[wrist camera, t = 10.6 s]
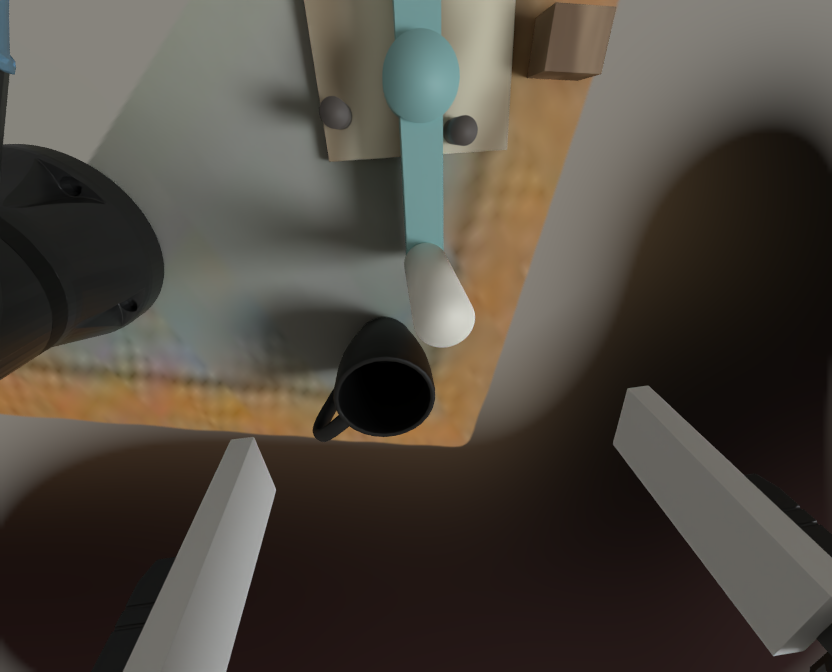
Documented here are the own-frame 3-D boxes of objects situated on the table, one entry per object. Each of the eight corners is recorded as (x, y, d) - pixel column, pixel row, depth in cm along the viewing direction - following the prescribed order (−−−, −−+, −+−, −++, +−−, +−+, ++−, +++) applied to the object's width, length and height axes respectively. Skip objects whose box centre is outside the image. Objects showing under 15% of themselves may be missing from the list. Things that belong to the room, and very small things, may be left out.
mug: (299, 354, 37) (275, 417, 29) (392, 289, 35) (394, 337, 26) (351, 403, 41) (343, 471, 33) (439, 346, 38) (454, 405, 30)
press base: (330, 160, 29) (321, 165, 25) (302, -26, 24) (283, -62, 19) (503, 149, 30) (524, 151, 25) (513, -36, 24) (541, -73, 20)
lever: (395, 274, 32) (402, 350, 21) (371, -68, 21) (359, -289, 10) (450, 271, 32) (485, 344, 21) (452, -69, 22) (525, -286, 11)
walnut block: (544, 70, 24) (601, 74, 25) (555, 2, 23) (616, 6, 23) (526, 78, 27) (577, 80, 28) (535, 18, 26) (589, 21, 26)
